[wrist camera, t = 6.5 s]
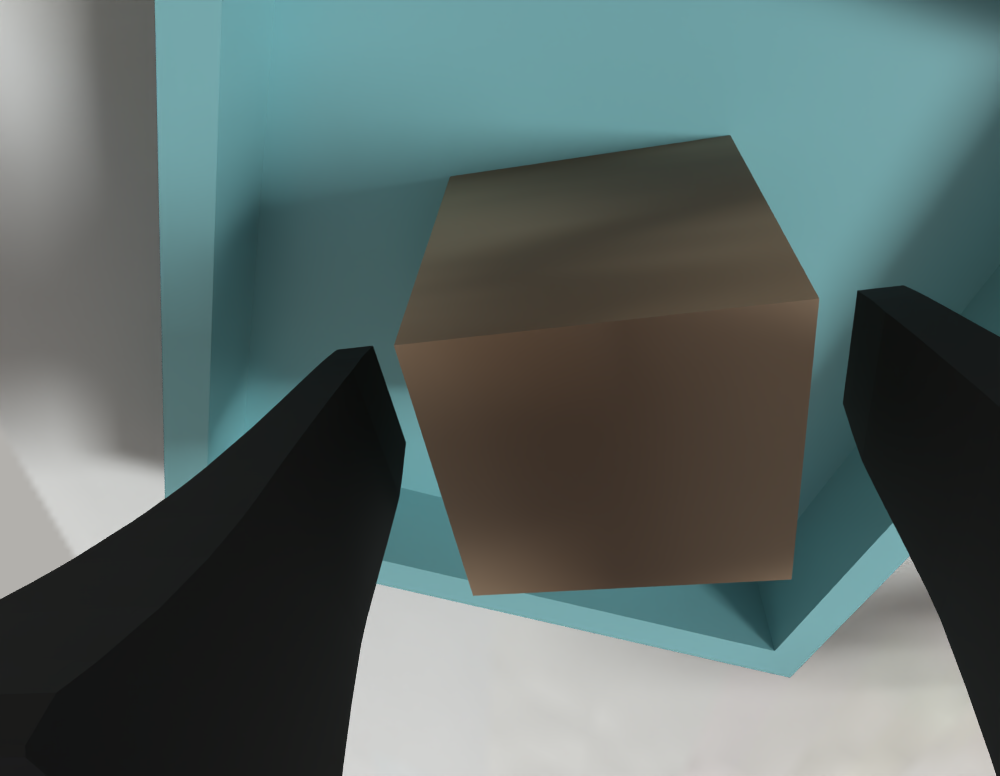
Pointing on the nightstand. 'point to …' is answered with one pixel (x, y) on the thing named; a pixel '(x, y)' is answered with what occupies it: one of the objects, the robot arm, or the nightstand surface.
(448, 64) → the teal tray
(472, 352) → the walnut block
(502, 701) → the nightstand surface
